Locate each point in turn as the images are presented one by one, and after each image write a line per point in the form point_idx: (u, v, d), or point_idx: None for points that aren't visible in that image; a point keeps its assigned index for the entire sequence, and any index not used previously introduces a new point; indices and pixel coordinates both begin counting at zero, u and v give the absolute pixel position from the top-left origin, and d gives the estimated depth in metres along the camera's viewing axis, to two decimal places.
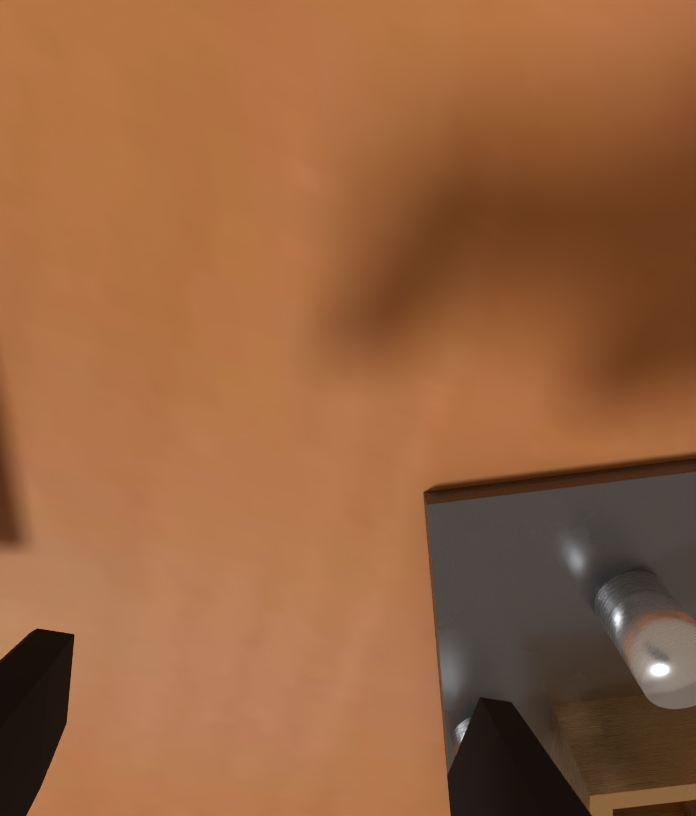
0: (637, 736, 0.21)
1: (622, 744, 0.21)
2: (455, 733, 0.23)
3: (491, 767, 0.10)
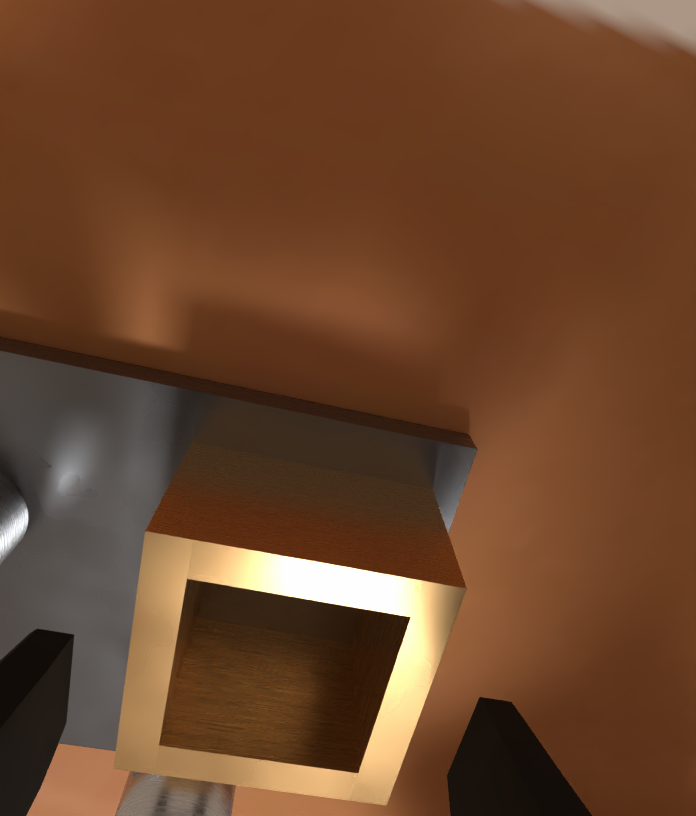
0: None
1: None
2: None
3: (491, 767, 0.10)
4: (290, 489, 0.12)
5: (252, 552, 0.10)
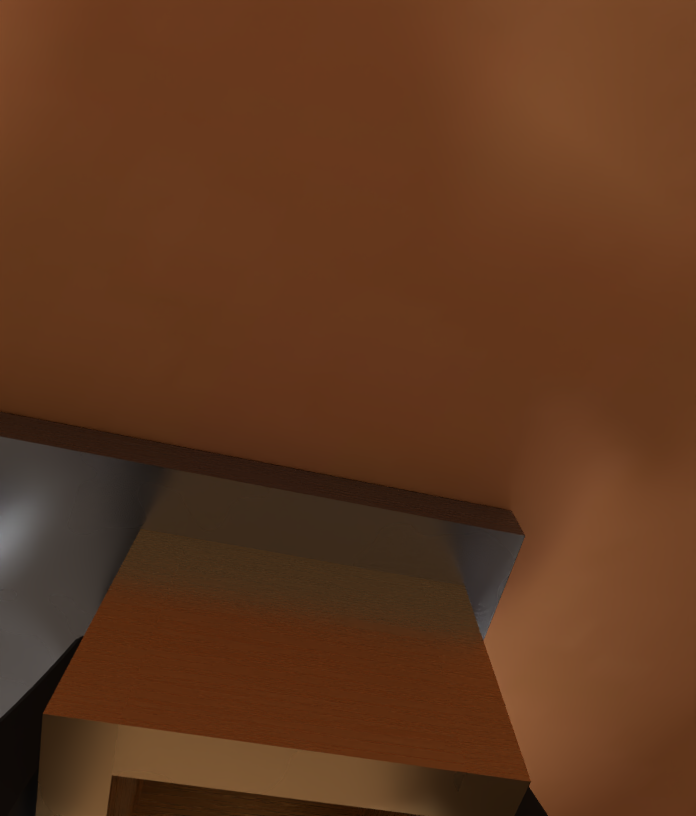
0: None
1: None
2: None
3: None
4: (272, 604, 0.09)
5: (209, 740, 0.07)
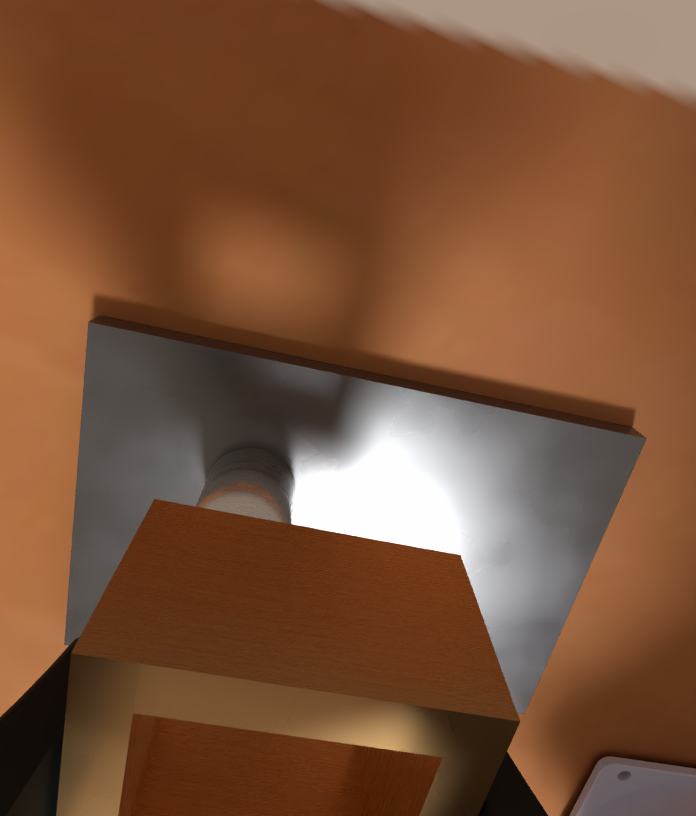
0: None
1: None
2: None
3: None
4: (279, 567, 0.09)
5: (223, 679, 0.07)
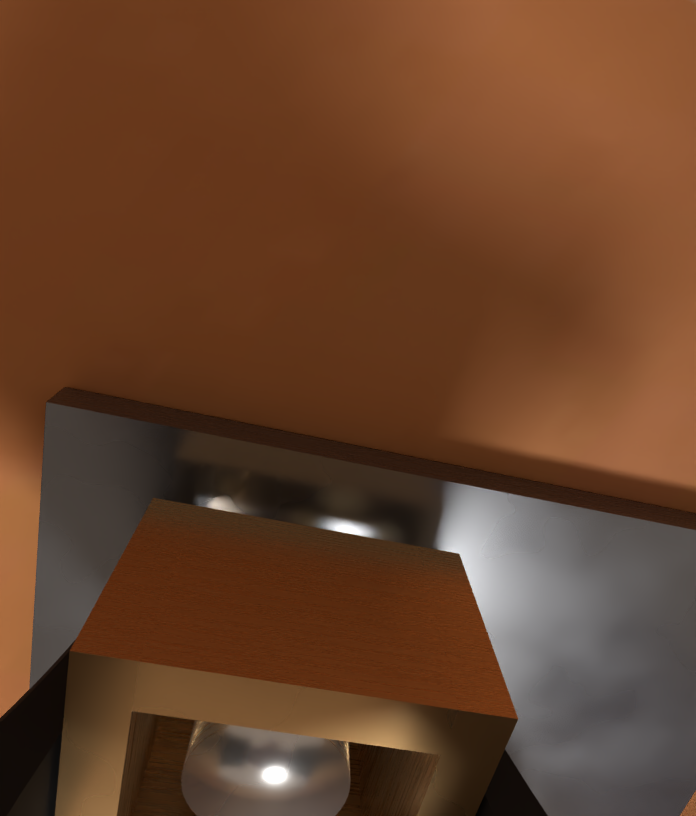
0: None
1: None
2: None
3: None
4: (278, 565, 0.09)
5: (222, 677, 0.07)
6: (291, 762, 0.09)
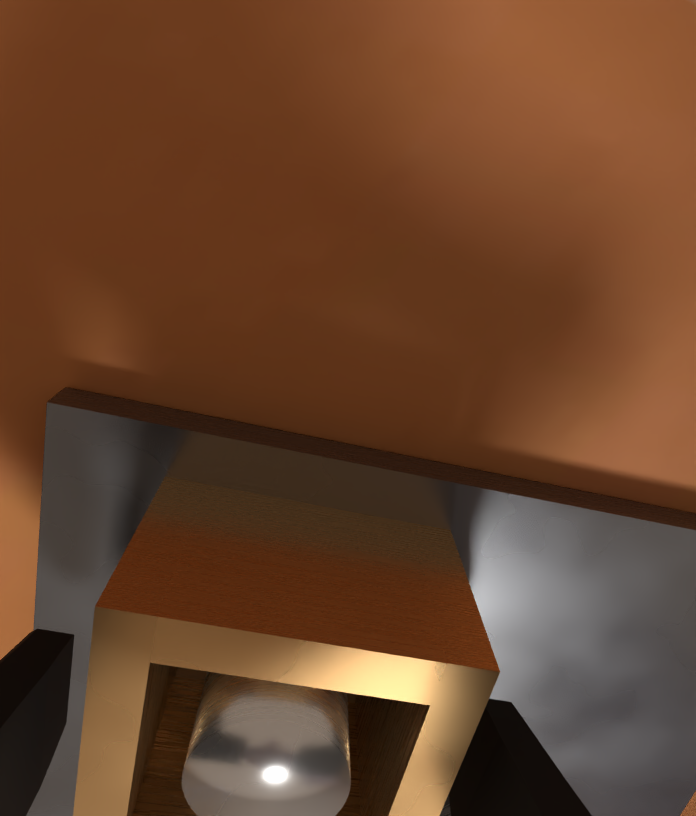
0: None
1: None
2: None
3: (491, 767, 0.10)
4: (281, 537, 0.10)
5: (232, 631, 0.08)
6: (292, 762, 0.09)
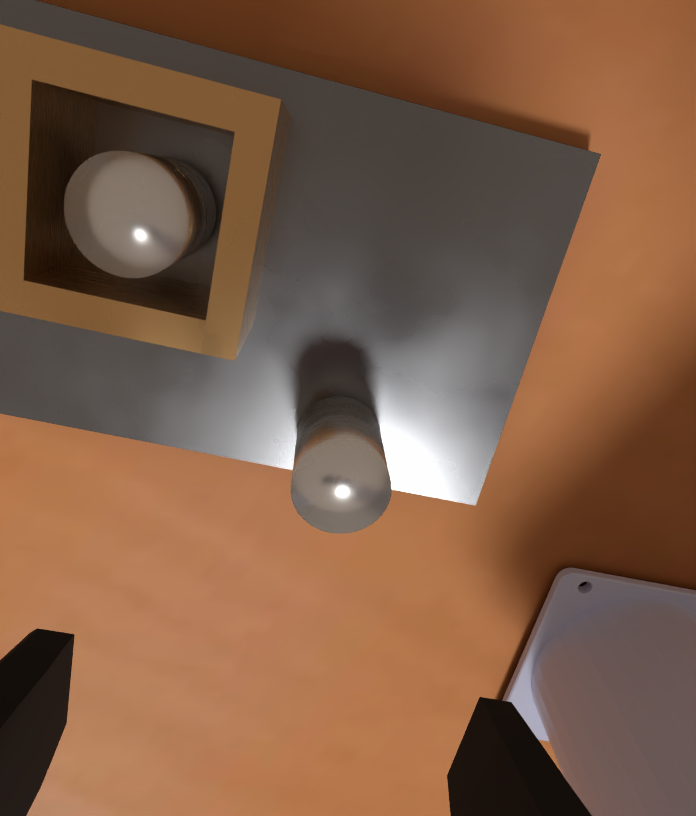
0: None
1: None
2: None
3: (491, 767, 0.10)
4: None
5: (87, 50, 0.11)
6: (142, 193, 0.13)
